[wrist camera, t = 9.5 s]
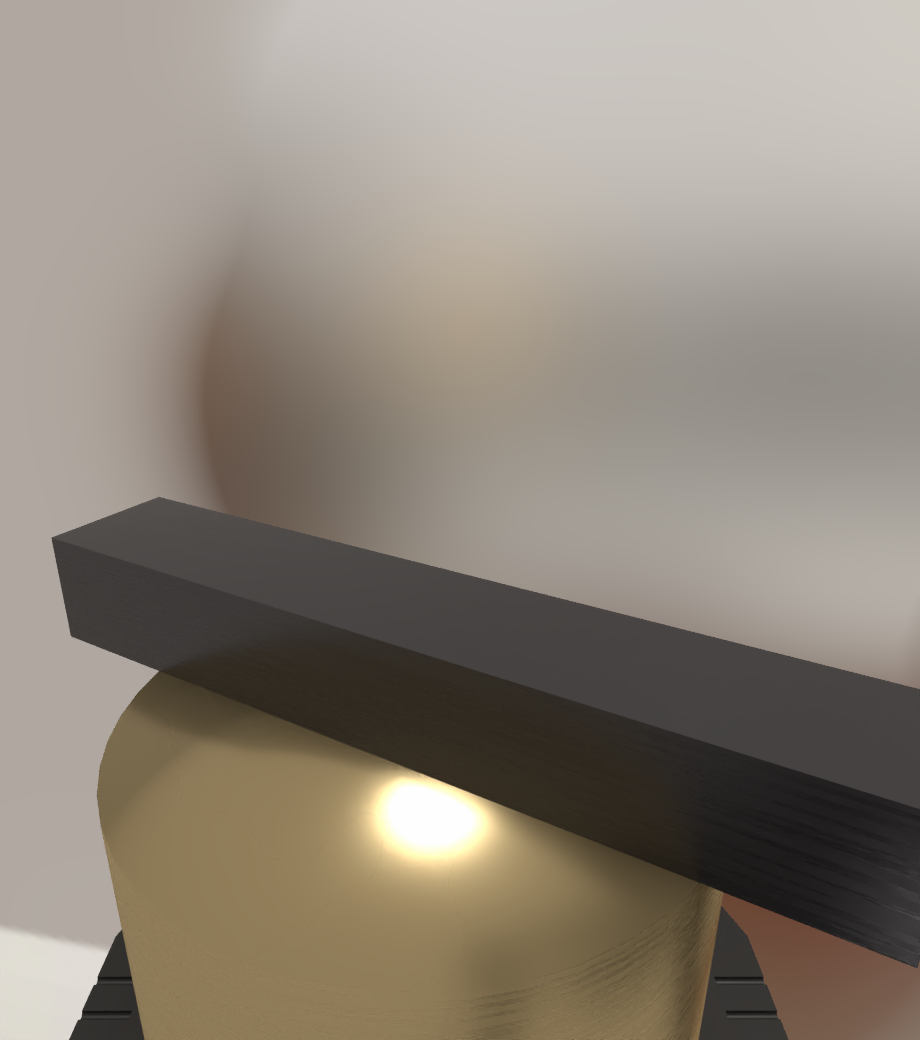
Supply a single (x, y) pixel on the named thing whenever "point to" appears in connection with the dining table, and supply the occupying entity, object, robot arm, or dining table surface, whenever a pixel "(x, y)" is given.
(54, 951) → the dining table surface
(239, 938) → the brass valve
